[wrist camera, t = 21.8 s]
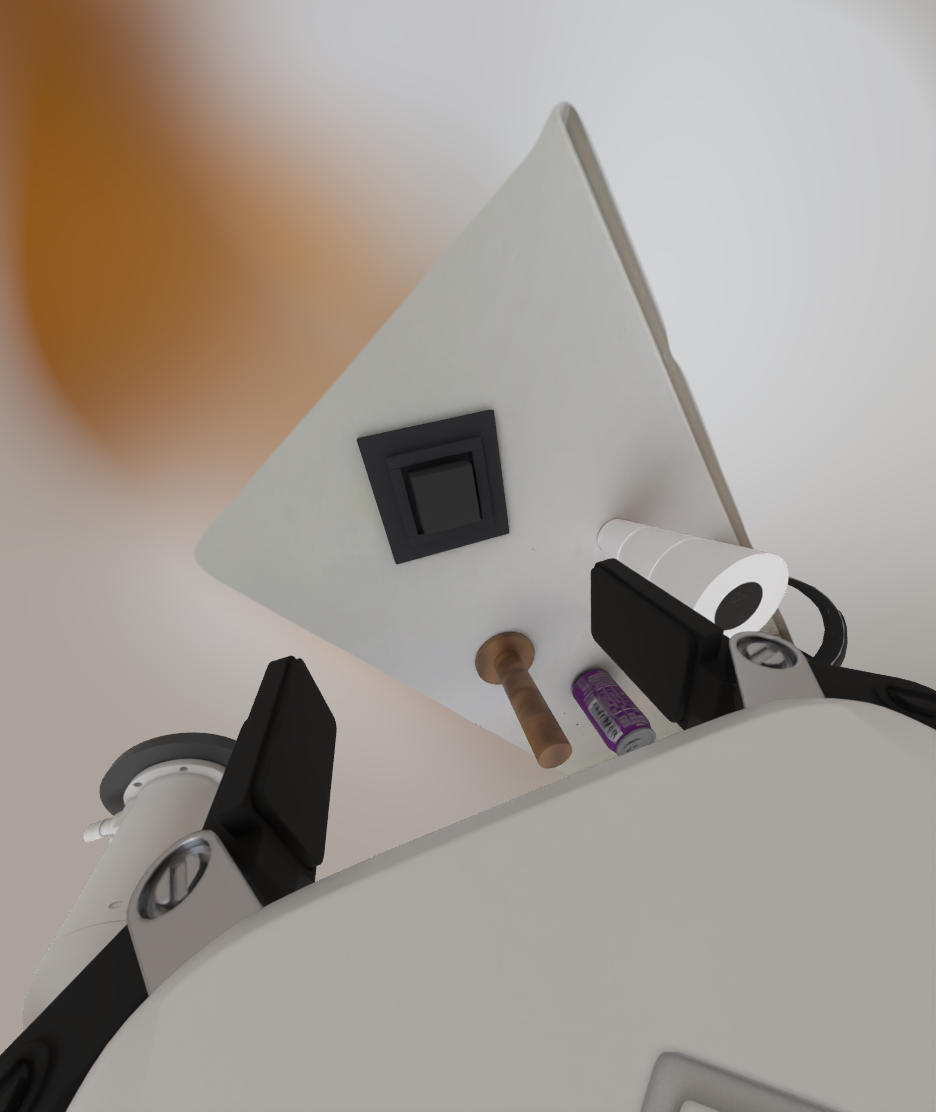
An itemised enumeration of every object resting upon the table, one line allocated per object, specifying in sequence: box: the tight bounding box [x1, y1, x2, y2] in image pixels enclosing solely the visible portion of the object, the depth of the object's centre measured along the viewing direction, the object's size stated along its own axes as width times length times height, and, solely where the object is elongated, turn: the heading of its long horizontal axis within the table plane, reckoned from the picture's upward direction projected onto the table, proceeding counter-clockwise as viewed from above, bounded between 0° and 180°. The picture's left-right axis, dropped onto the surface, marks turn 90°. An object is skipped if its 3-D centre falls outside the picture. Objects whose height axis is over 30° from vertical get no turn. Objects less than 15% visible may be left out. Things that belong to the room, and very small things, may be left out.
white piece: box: [597, 519, 789, 638], centre depth 38 cm, size 11×11×18 cm
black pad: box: [408, 459, 481, 535], centre depth 35 cm, size 6×6×4 cm
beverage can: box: [572, 669, 656, 757], centre depth 53 cm, size 7×7×12 cm
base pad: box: [357, 410, 509, 564], centre depth 36 cm, size 14×14×2 cm
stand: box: [475, 632, 572, 768], centre depth 43 cm, size 9×9×16 cm
